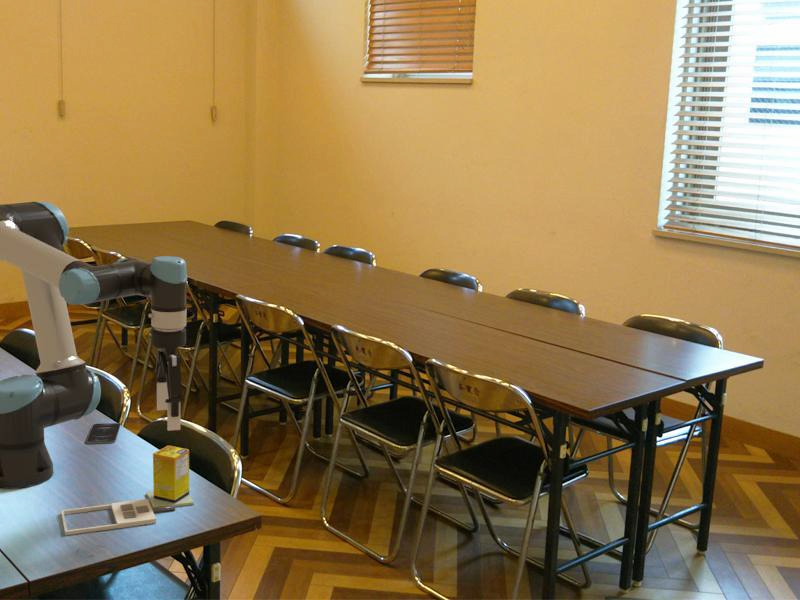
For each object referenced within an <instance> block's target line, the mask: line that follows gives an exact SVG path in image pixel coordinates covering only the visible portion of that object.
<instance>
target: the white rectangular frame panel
mask: <svg viewBox="0 0 800 600" xmlns="http://www.w3.org/2000/svg"><path fill="white" fill-rule="evenodd" d="M109 509H111V511H112V515H113V518H114V521H115V523H113V524H106V525H98V526H91V527H90V526H89V527H83V528H74V529H68V526H67V522H66V517H65V515H70V514H77V513H78V514H79V513H85V512H92V511H93V512H95V511H102V510H109ZM169 511H176V507H175V506H170V507H162V508H154V509H153V508H152V506H151V503H150V501H149V499H148V498H145V499H143V498H142V499H135V500H127V501H120V502H118V501H117V502H111V503H110V504H101V505H93V506H85V507H77V508H69V509H63V510H61V509H60V514H61V520H62V527H63V531H64V535H65V536H70V535H77V534H85V533H86V534H87V533H92V532H93V533H94V532H98V531H99V532H100V531H107V530H114V529H121V528H122V529H123V528H129V527H130V528H131V527H136V526H145V524H146V525H151V524H152V523H153V524H157V518H156V515H155V513H160V512H161V513H162V512H169ZM153 524H152V525H153Z"/></svg>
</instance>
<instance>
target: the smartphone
mask: <svg viewBox="0 0 800 600" xmlns="http://www.w3.org/2000/svg"><path fill="white" fill-rule="evenodd" d="M120 428H121V423H118V422H117V423H111V422H110V423H94V424H92V426H91V428H90V431H89V433H88V435H87V438H86V444H88V445H104V444H105V445H108V444H109V445H110V444H114V443H116V441H117V438H118V435H119V432H120Z"/></svg>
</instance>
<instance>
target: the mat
mask: <svg viewBox="0 0 800 600" xmlns="http://www.w3.org/2000/svg"><path fill="white" fill-rule="evenodd" d="M146 496H147V499H148V498H149V499H148V500H149V503H150V505H151V508H152V509H154V508H162V507H170V506H175V508H177V507H178V508H179V507H185V506H191V505H195V502H194V500H193V498H192V496H191V493H189V494H188V495H187V496H185V497H183V498H182V499H180V500H179V501H177V502H176V503H172V502H167V501H163V500H158V499H154V490H150V491H146Z"/></svg>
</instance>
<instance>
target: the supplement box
mask: <svg viewBox="0 0 800 600" xmlns="http://www.w3.org/2000/svg"><path fill="white" fill-rule="evenodd" d="M152 464H153V465H152V466H153V467H152V468H153V470H152V474H153V477H152V478H153V481H152V482H153V491H154V499H158V500H163V501H167V502H172V503H176V502H177V501H179V500H180V499H182V498H183V497H185V496H187V495H188V494H190V450H189V449H188V448H182V447H178V446H175V445H174V446H173V445H166V446H165V447H163V448H160V449H158V450H157V451H155V452H153V453H152Z"/></svg>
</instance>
